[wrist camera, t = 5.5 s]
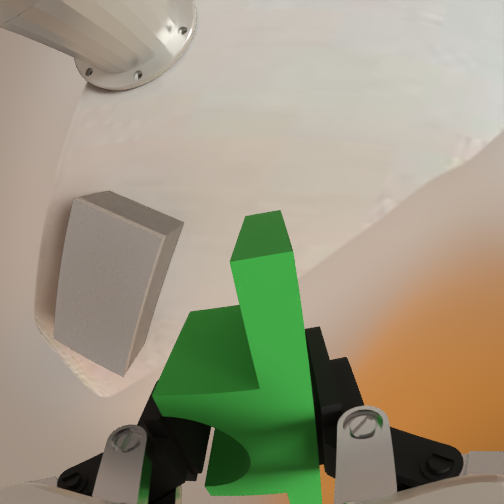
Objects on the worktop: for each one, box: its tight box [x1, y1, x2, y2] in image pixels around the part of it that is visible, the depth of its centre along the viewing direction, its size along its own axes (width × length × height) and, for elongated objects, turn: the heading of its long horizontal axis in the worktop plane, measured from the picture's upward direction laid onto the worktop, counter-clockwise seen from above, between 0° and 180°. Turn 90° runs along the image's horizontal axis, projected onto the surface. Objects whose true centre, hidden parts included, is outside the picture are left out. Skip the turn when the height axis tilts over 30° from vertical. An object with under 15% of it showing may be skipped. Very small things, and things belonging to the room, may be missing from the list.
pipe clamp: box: [152, 210, 322, 504], centre depth 9 cm, size 11×4×5 cm, turn 11°
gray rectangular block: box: [54, 191, 184, 377], centre depth 25 cm, size 14×8×6 cm, turn 157°
